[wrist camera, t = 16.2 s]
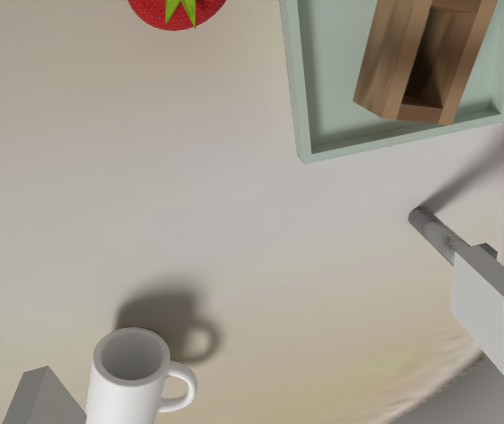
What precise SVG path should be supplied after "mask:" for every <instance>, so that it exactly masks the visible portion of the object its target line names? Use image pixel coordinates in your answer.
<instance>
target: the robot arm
mask: <svg viewBox="0 0 504 424" xmlns="http://www.w3.org/2000/svg"><path fill="white" fill-rule="evenodd" d="M450 312H451V314H452V315H453V316H454V317H455V318H456V319H457V321H458V322H459V323H460V324H461V325H462V326H463V328H464V329H465V330H466V331H467V332H468V334H469V335H470V336H471V337H472V338H473V339H474V341H475V342H476V343H477V344H478V345H479V347H480V348H481V349H482V350H483V351H484V352H485V354H486V355H487V356H488V357H489V358H490V359H491V361H492V362H493V363H494V364H495V365H496V367H497V368H498V369H499V370H500V371H501V372H502V374H503V375H504V266H503V265H501V264H500V263H499V262H498V261H497V260H495V259H494V258H493V257H492V256H491V255H489V254H488V253H487V252H486V251H485V250H484V249H482V248H481V247H480V246H479V245H475V246H471V247H468V248H464V249H461V250H457V251H455V256H454V269H453V281H452V294H451V307H450ZM86 419H87V415H86V413H85V412H84V411H83V410H82V408H81V407H80V406H79V404H78V403H77V402H76V401H75V399H74V398H73V397H72V396H71V394H70V393H69V392H68V390H67V389H66V388H65V387H64V385H63V384H62V383H61V381H60V380H59V379H58V378H57V376H56V375H55V374H54V373H53V371H52V370H51V369H50V367H49V366H45V367H42V368H38V369H35V370H31V371H27V372H24V373H23V375H22V378H21V380H20V382H19V385H18V387H17V390H16V392H15V395H14V397H13V399H12V402H11V404H10V407H9V409H8V411H7V414H6V416H5V419H4V421H3V423H2V424H86Z"/></svg>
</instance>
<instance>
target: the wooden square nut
mask: <svg viewBox="0 0 504 424" xmlns="http://www.w3.org/2000/svg"><path fill="white" fill-rule="evenodd" d="M497 2H498V0H377V4H376V8H375V12H374V16H373V20H372V24H371V28H370V32H369V36H368V40H367V44H366V48H365V52H364V57H363V61H362V65H361V69H360V73H359V77H358V81H357V85H356V89H355V93H354V97H353V102H355V103H357V104H358V105H360V106H362V107H363V108H365V109H367V110H368V111H370V112H372V113H374V114H375V115H377V116H379V117H380V118H384V119H393V120H403V121H413V122H422V123H432V124H442V125H452V122H453V119H454V117H455V114H456V111H457V109H458V106H459V103H460V101H461V98H462V95H463V93H464V90H465V87H466V85H467V82H468V79H469V77H470V74H471V71H472V69H473V66H474V63H475V61H476V58H477V55H478V53H479V50H480V47H481V45H482V42H483V39H484V37H485V34H486V31H487V29H488V26H489V23H490V21H491V18H492V15H493V13H494V10H495V7H496V5H497ZM429 12H430V13H429ZM428 13H429V17H428ZM427 17H428V20H427ZM426 20H427V23H426ZM425 23H426V26H425ZM424 26H425V30H424ZM423 30H424V33H423ZM422 33H423V36H422ZM421 36H422V40H421V43H420V39H421ZM419 43H420V46H419ZM418 46H419V49H418ZM417 49H418V53H417ZM416 53H417V56H416ZM415 56H416V59H415ZM414 59H415V62H414ZM413 62H414V66H413ZM412 66H413V69H412ZM411 69H412V72H411ZM410 72H411V75H410ZM409 75H410V79H409ZM408 79H409V82H408ZM407 82H408V85H407ZM406 85H407V88H406ZM405 89H406V92H405ZM404 92H405V93H404Z"/></svg>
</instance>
